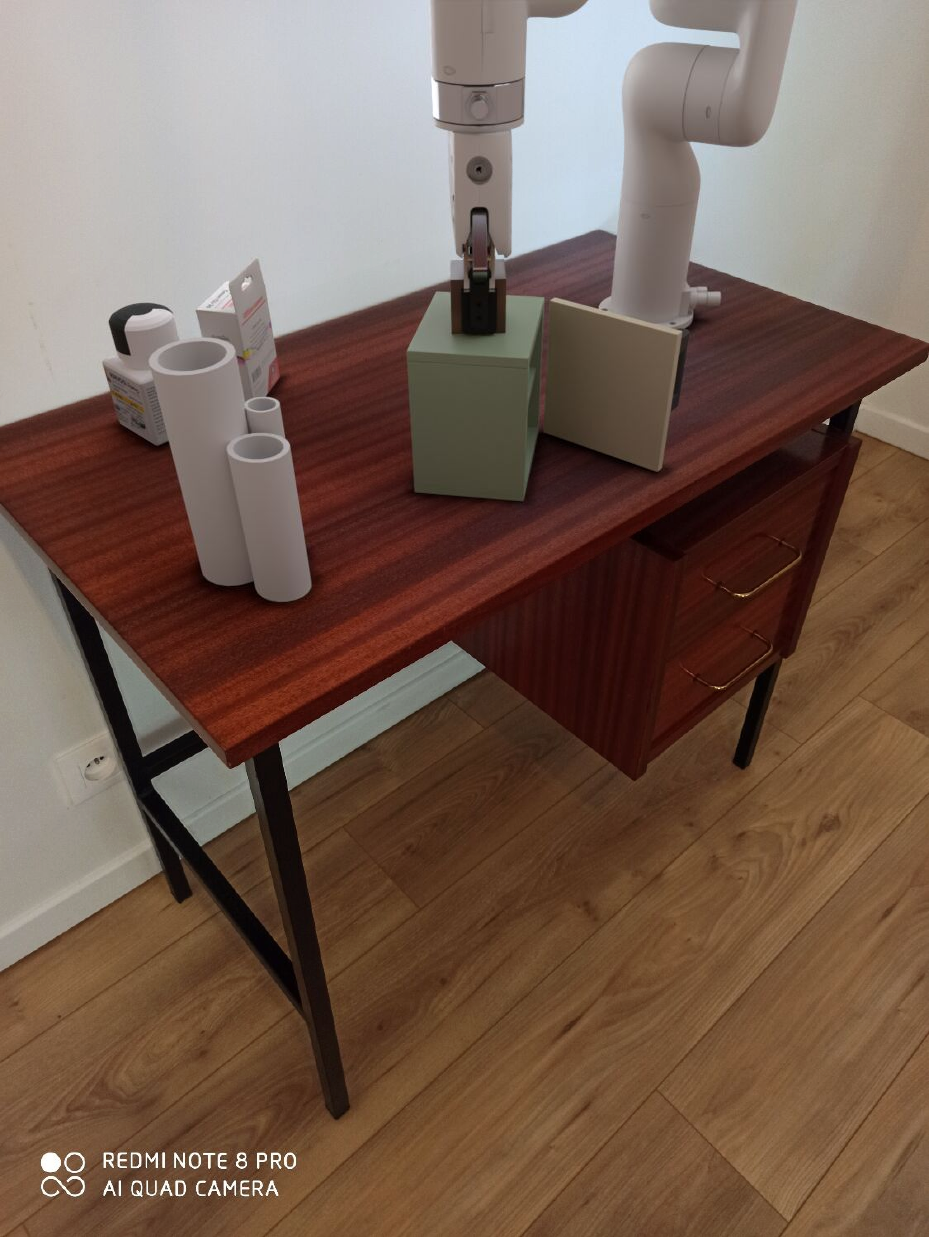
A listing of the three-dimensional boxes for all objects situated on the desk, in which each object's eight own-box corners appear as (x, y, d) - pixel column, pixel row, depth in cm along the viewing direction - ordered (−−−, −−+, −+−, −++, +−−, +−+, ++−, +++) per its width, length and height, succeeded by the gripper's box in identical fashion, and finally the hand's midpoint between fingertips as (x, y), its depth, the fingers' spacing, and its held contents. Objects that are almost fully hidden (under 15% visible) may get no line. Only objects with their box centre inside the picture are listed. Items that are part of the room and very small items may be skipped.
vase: (186, 576, 81) (129, 367, 68) (231, 532, 86) (187, 330, 73) (295, 607, 78) (257, 393, 65) (336, 560, 83) (309, 352, 70)
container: (118, 424, 103) (85, 311, 94) (177, 400, 107) (150, 290, 98) (157, 447, 99) (126, 332, 90) (216, 421, 103) (192, 309, 94)
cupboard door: (578, 406, 104) (587, 277, 94) (689, 442, 98) (712, 308, 88) (543, 432, 100) (549, 300, 90) (657, 472, 93) (677, 334, 84)
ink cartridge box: (243, 375, 112) (220, 252, 102) (281, 378, 111) (262, 255, 101) (214, 408, 105) (187, 281, 96) (255, 412, 104) (232, 284, 95)
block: (503, 311, 88) (504, 258, 85) (505, 333, 84) (506, 279, 81) (451, 312, 88) (450, 260, 85) (451, 334, 84) (450, 280, 81)
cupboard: (538, 431, 100) (544, 296, 90) (523, 501, 90) (528, 358, 80) (440, 424, 102) (436, 291, 92) (414, 492, 91) (406, 350, 81)
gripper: (531, 127, 67) (523, 359, 79) (519, 80, 80) (514, 285, 92) (429, 129, 67) (437, 360, 79) (434, 81, 80) (440, 286, 92)
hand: (478, 318), depth 86 cm, fingers closed on block, 5 cm apart
